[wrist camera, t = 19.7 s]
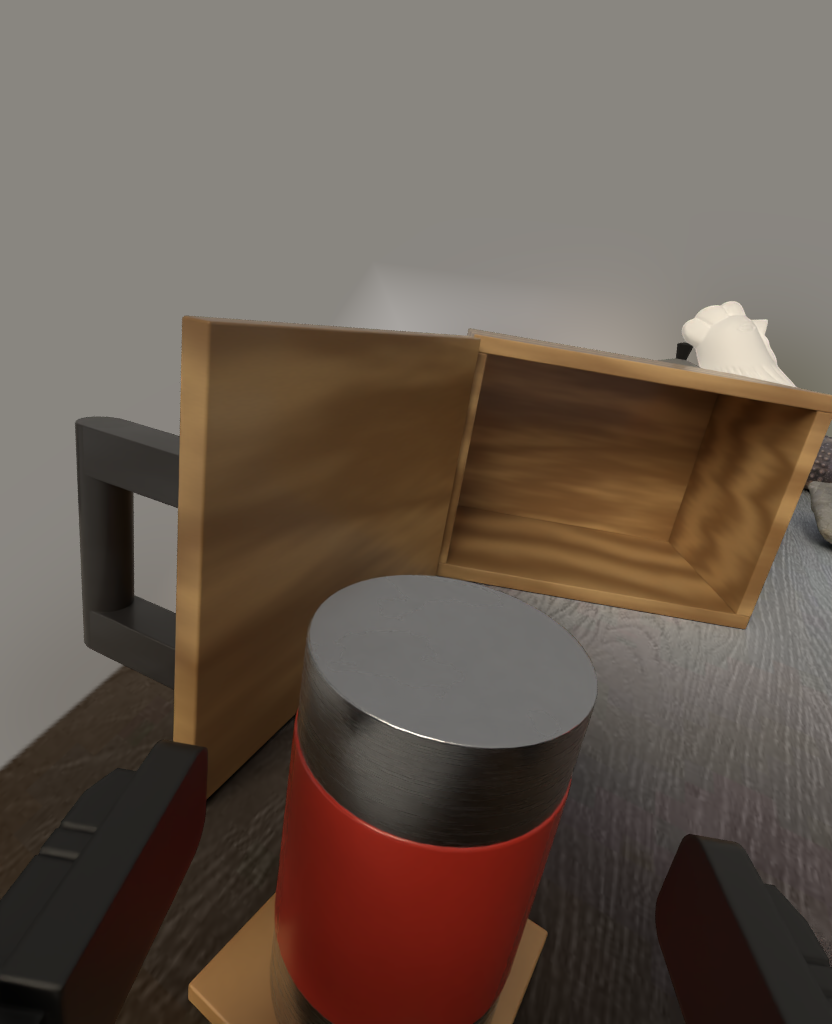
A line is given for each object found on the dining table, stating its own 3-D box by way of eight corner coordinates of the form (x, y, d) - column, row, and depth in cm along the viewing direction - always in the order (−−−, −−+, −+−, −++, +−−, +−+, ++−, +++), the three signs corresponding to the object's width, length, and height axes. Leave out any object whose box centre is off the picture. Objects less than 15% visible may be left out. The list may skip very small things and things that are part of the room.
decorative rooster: (815, 448, 86) (748, 301, 89) (839, 441, 72) (759, 266, 74) (648, 507, 96) (593, 374, 99) (640, 511, 82) (577, 356, 85)
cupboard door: (60, 739, 21) (31, 284, 16) (355, 551, 40) (386, 320, 35) (191, 815, 19) (209, 320, 14) (435, 579, 38) (481, 338, 33)
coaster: (186, 999, 14) (187, 984, 14) (356, 816, 20) (358, 803, 20) (424, 1247, 11) (430, 1232, 11) (544, 945, 17) (548, 931, 17)
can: (222, 944, 15) (244, 613, 12) (389, 821, 19) (440, 555, 16) (377, 1196, 11) (477, 814, 8) (541, 973, 16) (650, 666, 12)
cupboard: (745, 629, 39) (841, 397, 34) (429, 574, 39) (474, 333, 34) (671, 549, 52) (732, 373, 47) (435, 508, 52) (468, 328, 47)
